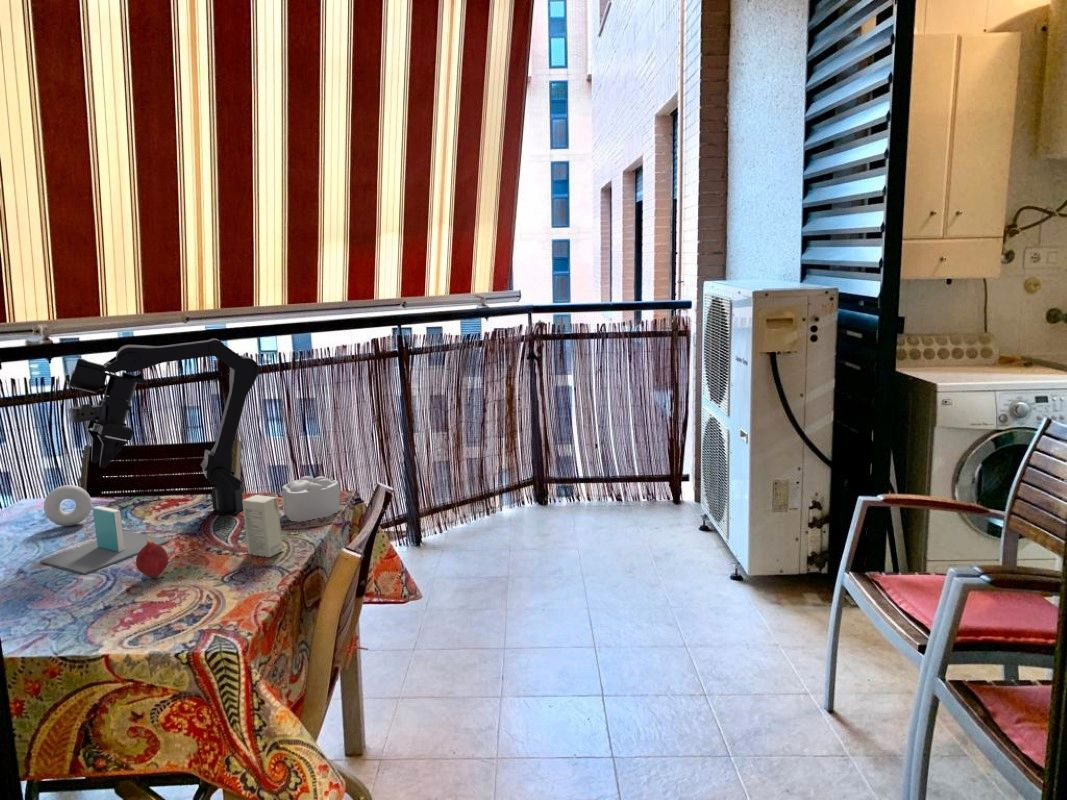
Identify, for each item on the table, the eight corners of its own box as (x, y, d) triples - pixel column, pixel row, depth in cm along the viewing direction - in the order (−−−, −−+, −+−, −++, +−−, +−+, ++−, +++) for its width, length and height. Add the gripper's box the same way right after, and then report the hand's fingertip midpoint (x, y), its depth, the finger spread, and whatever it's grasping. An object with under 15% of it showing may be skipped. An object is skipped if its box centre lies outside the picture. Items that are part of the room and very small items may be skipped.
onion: (176, 573, 160) (172, 536, 158) (154, 585, 155) (150, 546, 153) (153, 570, 162) (149, 533, 160) (131, 581, 157) (126, 543, 155)
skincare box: (283, 551, 171) (279, 497, 169) (269, 558, 167) (264, 503, 165) (261, 547, 174) (256, 493, 171) (246, 554, 170) (241, 499, 168)
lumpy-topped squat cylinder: (281, 512, 197) (279, 478, 195) (333, 503, 204) (331, 470, 202) (292, 524, 188) (289, 489, 187) (345, 514, 195) (343, 480, 193)
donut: (94, 519, 194) (89, 480, 192) (94, 524, 190) (89, 484, 189) (47, 526, 189) (41, 486, 187) (45, 531, 186) (40, 490, 184)
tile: (103, 544, 176) (98, 505, 174) (124, 549, 172) (119, 510, 171) (97, 547, 174) (92, 508, 172) (117, 552, 171) (113, 512, 169)
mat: (125, 532, 185) (125, 530, 184) (169, 541, 178) (169, 540, 178) (39, 562, 167) (39, 560, 167) (85, 574, 160) (84, 572, 160)
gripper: (71, 387, 184) (51, 452, 182) (87, 392, 170) (65, 463, 168) (122, 399, 191) (103, 462, 189) (141, 404, 177) (121, 473, 175)
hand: (97, 464), depth 180 cm, fingers open, 9 cm apart
